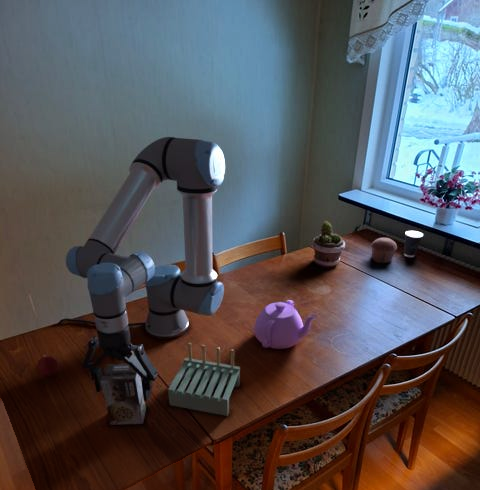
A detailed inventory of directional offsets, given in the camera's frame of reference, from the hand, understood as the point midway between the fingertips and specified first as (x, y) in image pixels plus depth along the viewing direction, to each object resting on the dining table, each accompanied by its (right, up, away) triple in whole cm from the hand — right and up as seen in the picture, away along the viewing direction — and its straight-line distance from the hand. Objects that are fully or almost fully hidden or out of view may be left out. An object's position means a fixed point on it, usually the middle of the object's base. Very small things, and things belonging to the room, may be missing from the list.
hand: (123, 393), depth 119 cm
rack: (+21, -2, +13) cm, 25 cm away
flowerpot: (+71, +46, +88) cm, 122 cm away
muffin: (+98, +48, +92) cm, 143 cm away
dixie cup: (+112, +51, +96) cm, 156 cm away
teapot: (+46, +12, +36) cm, 60 cm away
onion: (-28, +2, +19) cm, 34 cm away
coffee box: (0, -7, +5) cm, 9 cm away
